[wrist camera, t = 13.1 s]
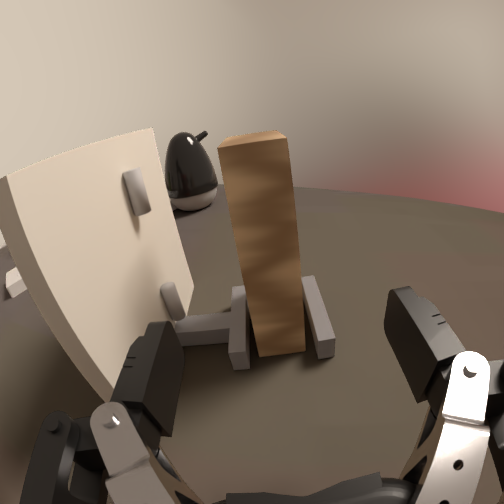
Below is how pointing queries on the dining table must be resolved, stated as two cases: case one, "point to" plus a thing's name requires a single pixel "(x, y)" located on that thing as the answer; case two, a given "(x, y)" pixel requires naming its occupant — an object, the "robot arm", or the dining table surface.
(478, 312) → the dining table surface
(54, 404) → the dining table surface
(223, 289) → the dining table surface
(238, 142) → the tall wooden block
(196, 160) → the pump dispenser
